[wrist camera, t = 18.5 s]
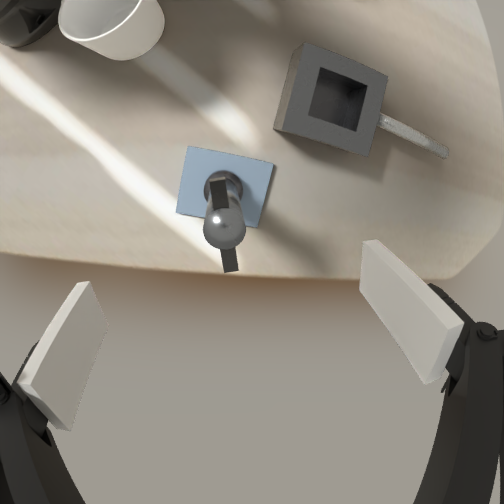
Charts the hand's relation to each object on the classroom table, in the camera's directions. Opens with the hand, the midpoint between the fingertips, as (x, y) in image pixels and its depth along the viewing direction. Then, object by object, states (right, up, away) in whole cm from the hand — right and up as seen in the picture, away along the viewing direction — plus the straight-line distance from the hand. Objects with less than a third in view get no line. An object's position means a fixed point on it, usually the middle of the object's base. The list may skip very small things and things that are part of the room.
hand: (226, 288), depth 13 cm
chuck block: (+16, +18, +18) cm, 30 cm away
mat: (-2, +9, +21) cm, 23 cm away
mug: (-14, +28, +11) cm, 34 cm away
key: (-2, +9, +20) cm, 22 cm away
